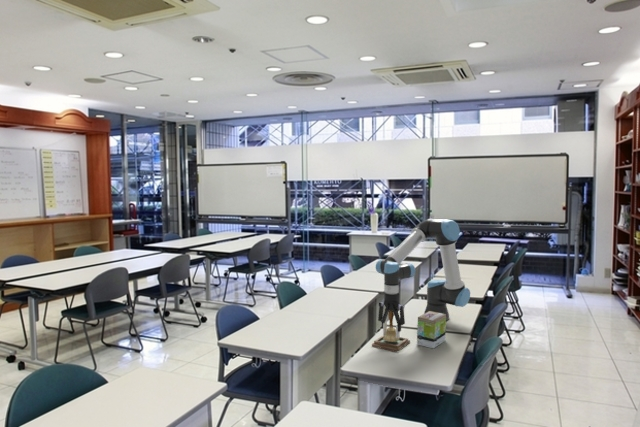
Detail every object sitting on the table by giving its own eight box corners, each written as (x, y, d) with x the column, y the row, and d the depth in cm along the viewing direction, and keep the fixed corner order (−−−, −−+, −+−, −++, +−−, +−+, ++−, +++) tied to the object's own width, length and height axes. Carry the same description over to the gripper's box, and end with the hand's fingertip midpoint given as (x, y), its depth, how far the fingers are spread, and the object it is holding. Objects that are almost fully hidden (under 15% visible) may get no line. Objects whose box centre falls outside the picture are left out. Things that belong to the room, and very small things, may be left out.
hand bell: (386, 342, 226) (386, 311, 225) (381, 336, 235) (381, 307, 233) (401, 341, 228) (402, 310, 227) (395, 335, 236) (396, 306, 235)
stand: (385, 337, 242) (385, 333, 242) (409, 342, 234) (410, 338, 234) (371, 346, 229) (371, 341, 229) (396, 352, 221) (396, 347, 221)
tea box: (434, 349, 225) (435, 320, 224) (416, 344, 231) (416, 316, 230) (446, 340, 237) (446, 313, 236) (428, 336, 243) (428, 310, 242)
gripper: (371, 291, 232) (371, 334, 234) (406, 296, 221) (405, 342, 223) (377, 288, 238) (377, 330, 240) (412, 293, 227) (411, 337, 229)
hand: (391, 336), depth 231 cm, fingers closed on hand bell, 7 cm apart
